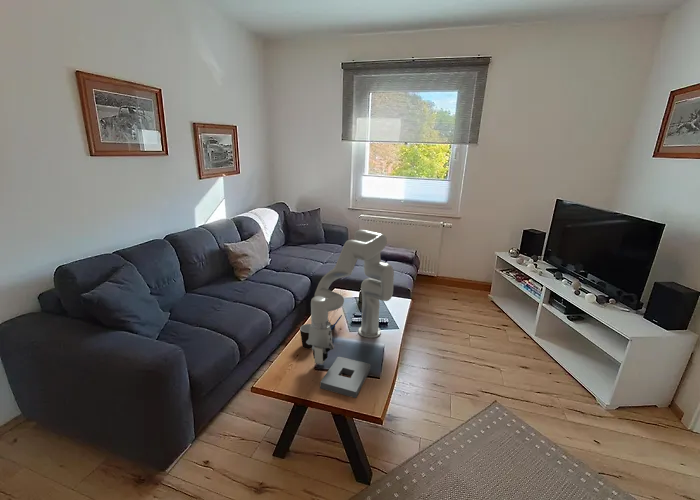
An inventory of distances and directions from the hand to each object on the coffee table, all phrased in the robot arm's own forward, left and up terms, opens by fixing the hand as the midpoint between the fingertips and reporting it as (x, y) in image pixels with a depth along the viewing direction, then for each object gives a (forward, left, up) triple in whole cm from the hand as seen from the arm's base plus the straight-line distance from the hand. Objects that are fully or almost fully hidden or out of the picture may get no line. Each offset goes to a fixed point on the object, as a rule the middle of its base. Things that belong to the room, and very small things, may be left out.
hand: (320, 357), depth 155 cm
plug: (0, 0, -2) cm, 2 cm away
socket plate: (+5, +15, -4) cm, 16 cm away
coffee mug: (-13, -11, -4) cm, 18 cm away
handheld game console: (-27, -9, -4) cm, 29 cm away
